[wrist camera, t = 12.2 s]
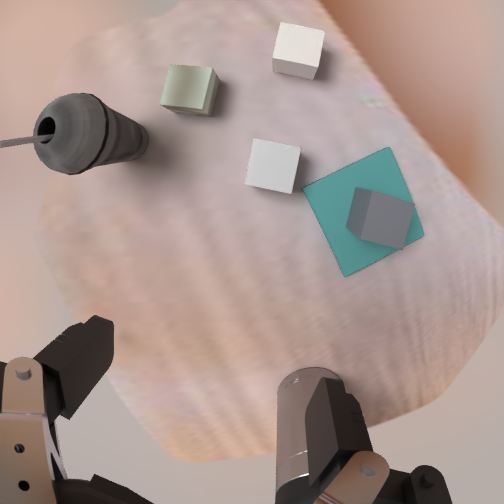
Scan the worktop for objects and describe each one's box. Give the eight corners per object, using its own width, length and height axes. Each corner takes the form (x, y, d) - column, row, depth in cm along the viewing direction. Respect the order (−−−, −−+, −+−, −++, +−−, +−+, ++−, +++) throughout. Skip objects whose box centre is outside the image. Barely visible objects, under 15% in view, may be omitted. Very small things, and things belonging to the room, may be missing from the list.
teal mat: (420, 233, 32) (424, 234, 31) (342, 274, 34) (344, 277, 33) (386, 147, 30) (389, 146, 29) (301, 188, 32) (302, 188, 31)
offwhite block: (319, 47, 28) (324, 31, 24) (312, 80, 29) (318, 67, 25) (280, 39, 28) (280, 22, 24) (272, 71, 29) (272, 57, 25)
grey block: (297, 151, 31) (301, 147, 27) (289, 191, 33) (291, 194, 28) (256, 142, 31) (253, 138, 27) (248, 182, 33) (244, 184, 28)
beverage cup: (169, 124, 31) (57, 84, 12) (142, 181, 33) (17, 201, 14) (121, 104, 31) (0, 65, 12) (97, 157, 33) (-31, 162, 14)
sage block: (220, 80, 30) (212, 67, 25) (211, 116, 31) (202, 109, 27) (182, 76, 30) (170, 64, 26) (173, 112, 31) (159, 104, 27)
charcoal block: (391, 197, 31) (414, 203, 25) (381, 236, 32) (402, 249, 26) (355, 187, 31) (372, 190, 25) (345, 227, 32) (360, 239, 26)
